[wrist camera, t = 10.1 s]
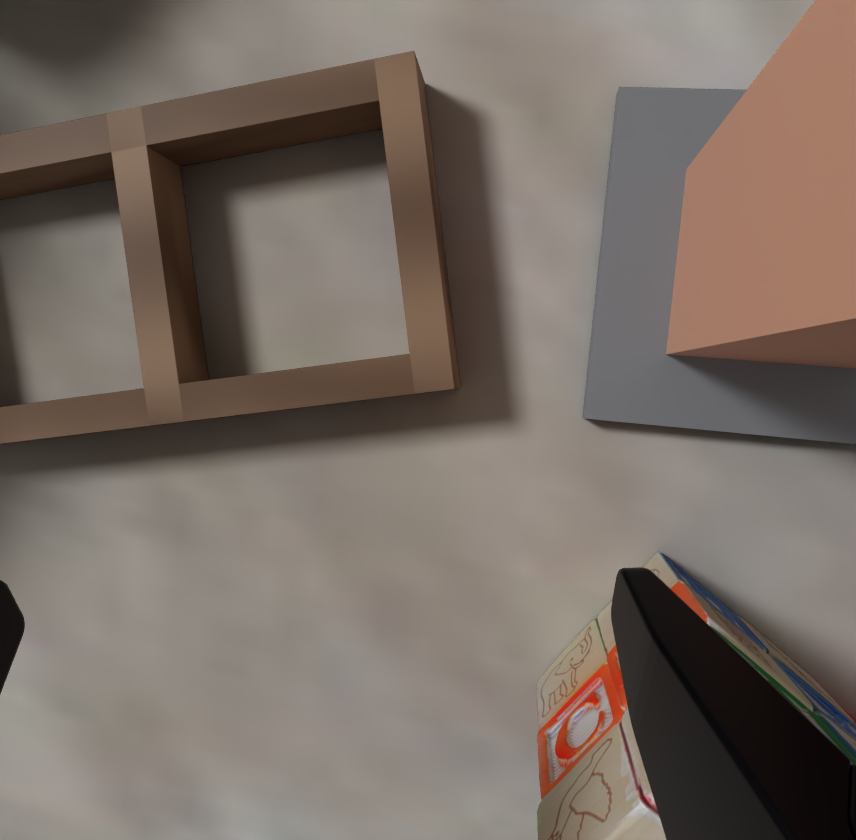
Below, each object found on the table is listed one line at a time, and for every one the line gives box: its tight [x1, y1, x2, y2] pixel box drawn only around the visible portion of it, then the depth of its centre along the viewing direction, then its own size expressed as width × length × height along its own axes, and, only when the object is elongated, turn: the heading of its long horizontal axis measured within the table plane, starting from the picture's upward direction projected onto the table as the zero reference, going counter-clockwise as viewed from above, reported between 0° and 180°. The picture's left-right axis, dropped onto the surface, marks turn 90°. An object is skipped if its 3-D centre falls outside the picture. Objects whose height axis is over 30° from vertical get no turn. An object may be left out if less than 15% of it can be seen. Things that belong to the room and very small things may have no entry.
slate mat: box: [583, 87, 856, 444], centre depth 19 cm, size 10×10×1 cm
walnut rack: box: [0, 51, 461, 444], centre depth 21 cm, size 10×19×2 cm, turn 97°
